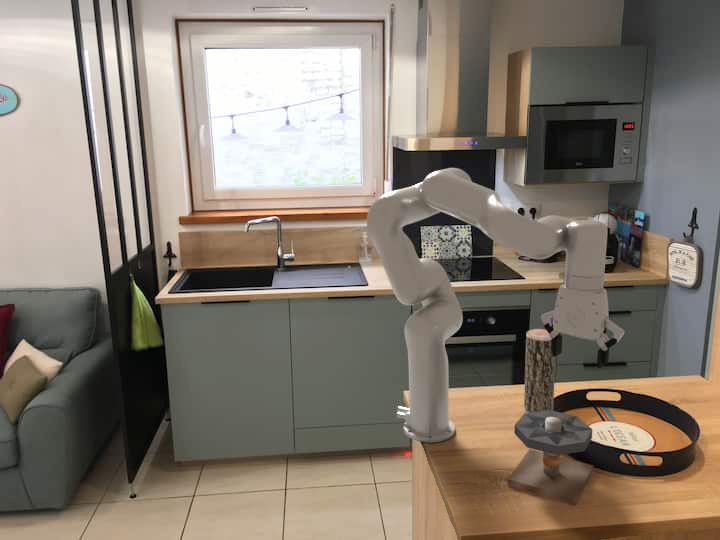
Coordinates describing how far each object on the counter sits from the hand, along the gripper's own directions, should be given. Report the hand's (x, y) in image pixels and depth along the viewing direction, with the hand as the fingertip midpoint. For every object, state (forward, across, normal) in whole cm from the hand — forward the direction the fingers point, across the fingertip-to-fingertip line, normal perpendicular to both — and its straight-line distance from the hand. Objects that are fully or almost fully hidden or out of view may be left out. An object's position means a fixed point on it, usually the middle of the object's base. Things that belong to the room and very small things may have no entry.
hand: (578, 360), depth 134 cm
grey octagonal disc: (+15, -2, -7) cm, 17 cm away
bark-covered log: (+26, -13, +11) cm, 31 cm away
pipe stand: (+25, -2, -7) cm, 26 cm away
